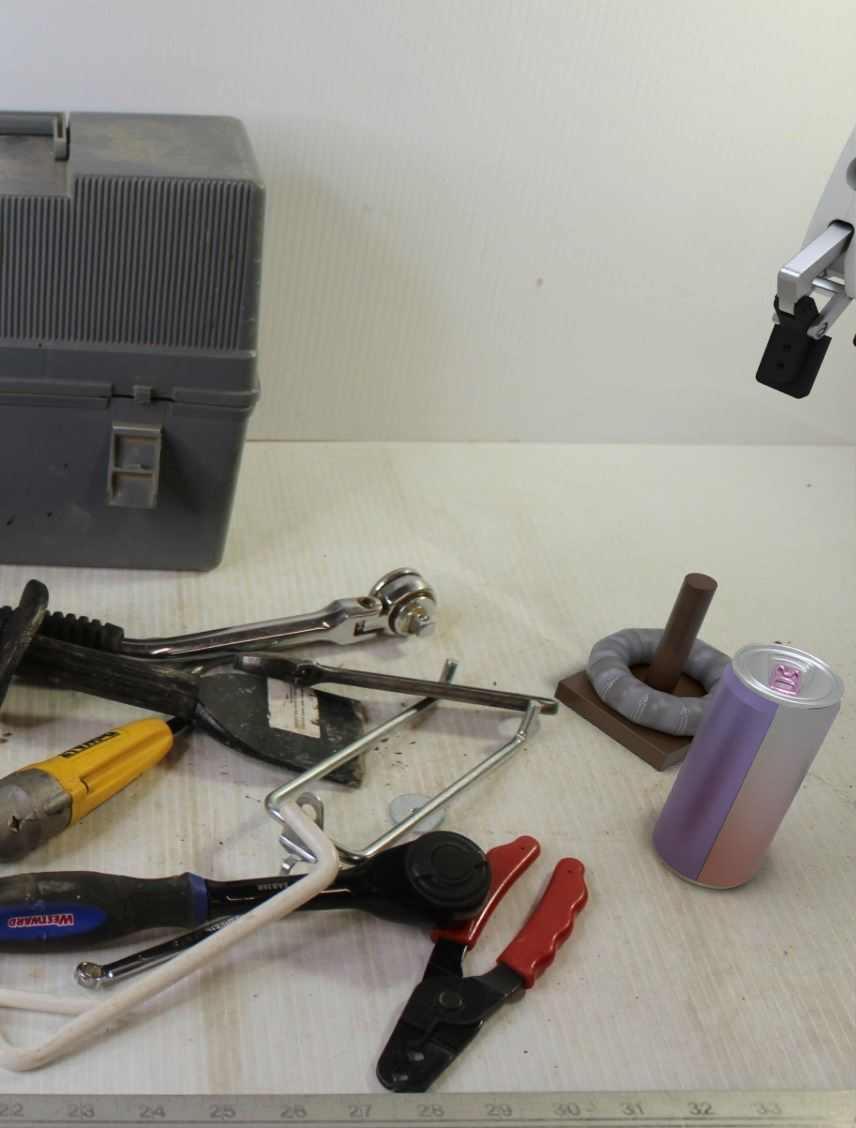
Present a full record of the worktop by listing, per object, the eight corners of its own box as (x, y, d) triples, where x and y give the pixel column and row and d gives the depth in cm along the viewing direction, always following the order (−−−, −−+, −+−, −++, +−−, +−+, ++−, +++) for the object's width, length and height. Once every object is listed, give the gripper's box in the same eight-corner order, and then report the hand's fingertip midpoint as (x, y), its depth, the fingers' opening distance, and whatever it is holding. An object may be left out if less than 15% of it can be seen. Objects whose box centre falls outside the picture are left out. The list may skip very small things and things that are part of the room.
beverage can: (639, 867, 83) (722, 681, 74) (658, 811, 87) (738, 628, 78) (744, 909, 80) (843, 721, 71) (759, 848, 84) (853, 663, 75)
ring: (646, 633, 100) (657, 605, 98) (775, 711, 93) (789, 683, 91) (552, 677, 96) (561, 648, 94) (679, 762, 88) (692, 733, 87)
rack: (637, 659, 100) (687, 531, 93) (745, 729, 93) (807, 597, 87) (553, 696, 96) (598, 565, 90) (659, 771, 90) (717, 636, 83)
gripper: (921, 129, 67) (799, 430, 77) (1107, 79, 73) (972, 362, 84) (782, 93, 72) (685, 379, 82) (967, 50, 79) (856, 319, 89)
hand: (830, 371), depth 83 cm, fingers open, 9 cm apart
